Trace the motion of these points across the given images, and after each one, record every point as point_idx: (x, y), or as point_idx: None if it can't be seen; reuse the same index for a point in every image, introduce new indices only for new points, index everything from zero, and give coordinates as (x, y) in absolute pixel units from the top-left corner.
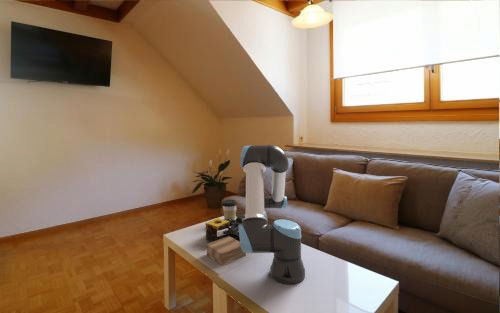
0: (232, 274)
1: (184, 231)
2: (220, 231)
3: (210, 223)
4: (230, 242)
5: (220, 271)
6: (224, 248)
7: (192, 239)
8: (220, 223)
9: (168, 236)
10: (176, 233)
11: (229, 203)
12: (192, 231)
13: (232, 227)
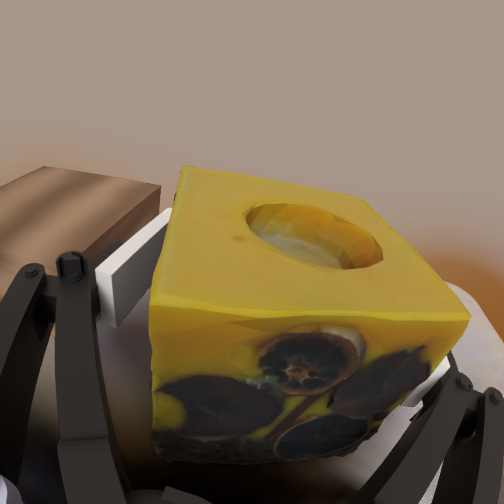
0: None
1: (486, 340)
2: (153, 223)
3: (321, 196)
4: (24, 216)
5: None
6: (44, 183)
7: None
8: (229, 209)
9: (451, 285)
10: (472, 312)
11: None
12: (479, 364)
13: (56, 330)
